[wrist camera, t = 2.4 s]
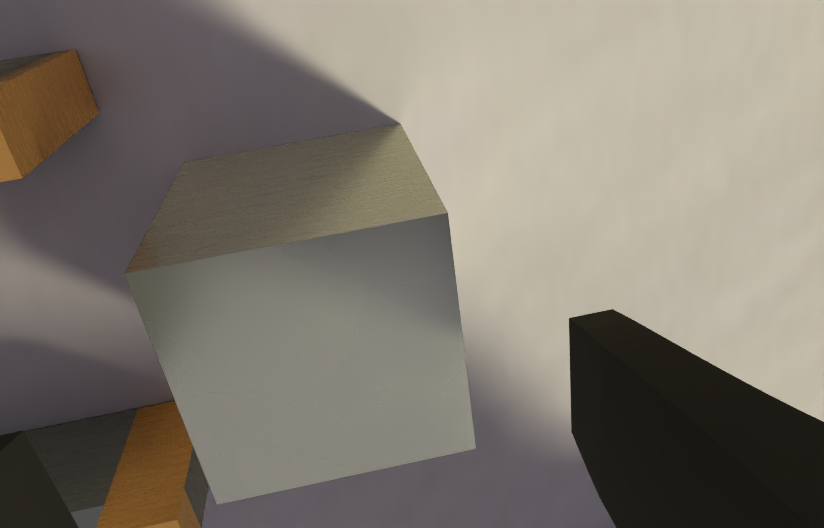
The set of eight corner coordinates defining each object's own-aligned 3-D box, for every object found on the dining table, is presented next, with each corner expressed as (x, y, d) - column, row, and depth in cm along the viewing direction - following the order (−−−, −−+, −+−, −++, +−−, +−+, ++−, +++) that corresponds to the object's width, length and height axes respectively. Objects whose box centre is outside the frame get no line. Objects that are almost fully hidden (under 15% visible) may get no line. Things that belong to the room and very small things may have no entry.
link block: (400, 123, 13) (447, 212, 9) (426, 303, 15) (475, 448, 11) (185, 161, 13) (123, 274, 9) (242, 340, 15) (216, 504, 11)
